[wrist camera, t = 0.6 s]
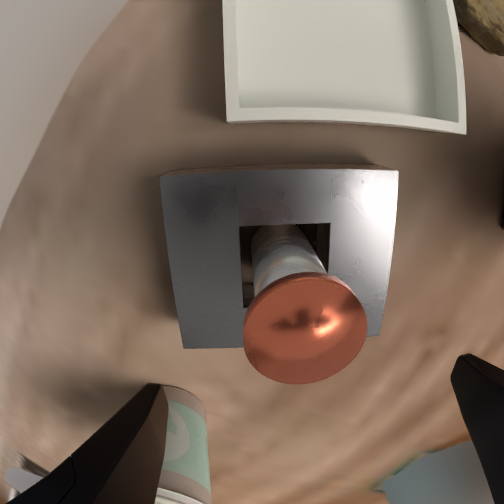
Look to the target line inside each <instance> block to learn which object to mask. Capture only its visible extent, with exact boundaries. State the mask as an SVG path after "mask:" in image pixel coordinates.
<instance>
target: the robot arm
mask: <svg viewBox="0 0 504 504" xmlns="http://www.w3.org/2000/svg"><path fill="white" fill-rule="evenodd" d="M502 229H503V230H504V210H503V218H502ZM451 383H452V386H453V389H454V392H455V395H456V398H457V401H458V404H459V407H460V410H461V414H462V417H463V419H464V422H465V424H466V427H467V429H468V431H469V434H470V436H471V439H472V441H473V444H474V446H475V449H476V451H477V454H478V457H479V459H480V462H481V464H482V467H483V470H484V473H485V476H486V479H487V481H488V485H489V488H490V491H491V494H492V497H493V500H494V503H495V504H504V370H502V369H500V368H498V367H496V366H494V365H492V364H490V363H488V362H486V361H484V360H482V359H480V358H478V357H476V356H474V355H472V354H469V353H468V354H464V355H460V356H459V357H458V358H457V360H456V363H455V366H454V368H453V371H452V373H451ZM168 412H169V406H168V401H167V398H166V394H165V391H164V388H163V386H162V385H161V384H155V383H148V384H146V385H145V386H144V387H143V388H142V389H141V390H140V391H139V392H138V393H137V394H136V395H135V396H134V397H133V398H132V399H130V400H129V401H128V402H127V403H126V404H125V405H124V406H123V407H122V408H121V409H120V410H119V411H118V412H117V413H116V414H114V415H113V416H112V417H111V418H110V419H109V420H108V421H107V422H106V423H105V424H104V425H103V426H102V427H101V428H99V429H98V430H97V431H96V432H95V433H94V434H93V435H92V436H91V437H90V438H89V439H88V440H86V441H85V442H84V443H83V444H82V445H81V446H80V447H79V448H78V449H77V450H76V451H74V452H73V453H72V454H71V456H69V457H68V458H67V459H66V460H64V461H63V462H62V463H61V464H60V465H59V466H58V467H56V468H55V469H54V470H53V471H52V472H51V473H49V474H48V475H47V476H45V477H44V478H43V479H41V480H40V481H39V482H37V483H36V484H34V485H33V486H31V487H30V488H29V489H27V490H26V491H24V492H23V493H21V494H20V495H18V496H17V497H15V498H14V499H12V500H11V501H9V502H7V503H6V504H155V499H156V494H157V489H158V484H159V480H160V475H161V470H162V465H163V460H164V455H165V445H166V433H167V422H168Z"/></svg>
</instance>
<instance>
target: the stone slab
mask: <svg viewBox="0 0 504 504" xmlns="http://www.w3.org/2000/svg"><path fill="white" fill-rule="evenodd" d="M453 4H454V9H455V14H456V19H457V21H458V22H459V23H460V24H461V25H462V26H463V27H464V28H465V29H466V30H467V32H468V33H469V34H470V35H471V37H472V38H473V39H474V40H475V41H477V42H478V43H479V44H480V45H481V46H483V47H484V48H485V49H486V50H487V51H488V52H490V53H494V54H497V55H499V56H504V0H453Z"/></svg>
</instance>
